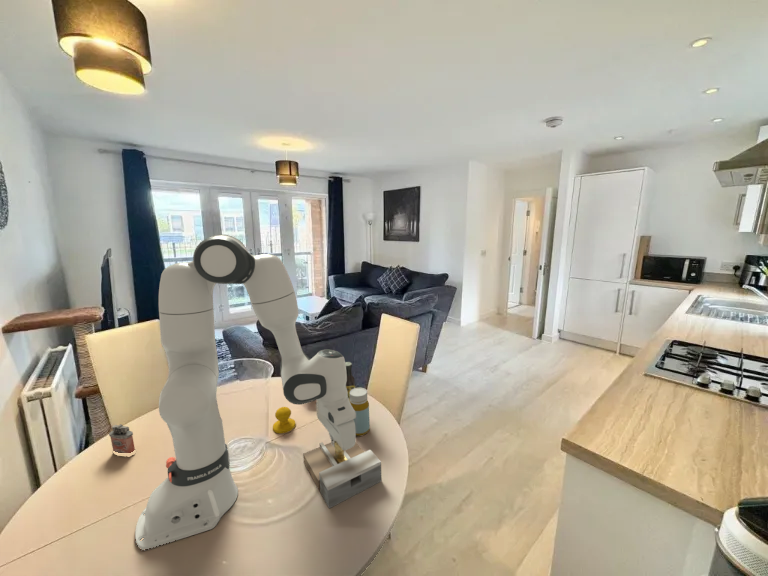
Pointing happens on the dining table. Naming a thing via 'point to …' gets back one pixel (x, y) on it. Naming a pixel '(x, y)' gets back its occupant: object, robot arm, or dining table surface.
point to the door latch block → (342, 472)
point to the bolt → (339, 454)
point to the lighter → (122, 439)
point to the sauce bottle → (349, 378)
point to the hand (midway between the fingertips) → (335, 445)
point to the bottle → (360, 410)
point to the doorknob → (283, 421)
